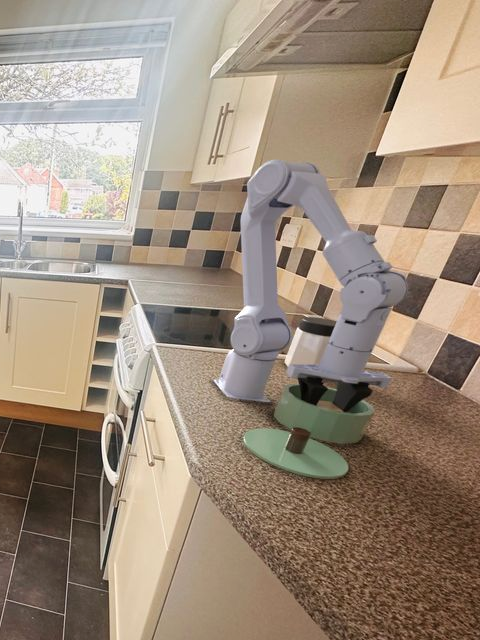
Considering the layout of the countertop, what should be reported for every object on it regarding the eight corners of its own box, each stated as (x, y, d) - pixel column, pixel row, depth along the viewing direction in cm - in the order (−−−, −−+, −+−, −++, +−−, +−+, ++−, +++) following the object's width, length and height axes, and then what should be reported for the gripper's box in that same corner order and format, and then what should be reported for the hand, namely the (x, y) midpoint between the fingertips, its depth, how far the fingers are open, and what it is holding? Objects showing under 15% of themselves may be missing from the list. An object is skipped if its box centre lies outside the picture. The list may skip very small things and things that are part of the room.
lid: (229, 428, 74) (237, 405, 72) (315, 440, 71) (326, 416, 69) (262, 474, 62) (272, 447, 60) (367, 489, 59) (381, 462, 57)
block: (297, 417, 77) (305, 398, 76) (322, 420, 77) (330, 401, 75) (309, 428, 74) (317, 408, 72) (334, 431, 73) (343, 411, 72)
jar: (307, 362, 108) (325, 317, 103) (335, 374, 100) (356, 326, 95) (275, 362, 107) (292, 316, 102) (301, 374, 99) (321, 326, 94)
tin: (261, 407, 82) (271, 379, 80) (333, 415, 80) (346, 387, 78) (292, 439, 71) (305, 409, 69) (377, 450, 69) (393, 419, 66)
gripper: (313, 349, 67) (284, 422, 72) (419, 359, 64) (379, 434, 70) (292, 336, 73) (266, 405, 79) (387, 345, 71) (353, 415, 76)
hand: (318, 417), depth 75 cm, fingers closed on block, 4 cm apart
